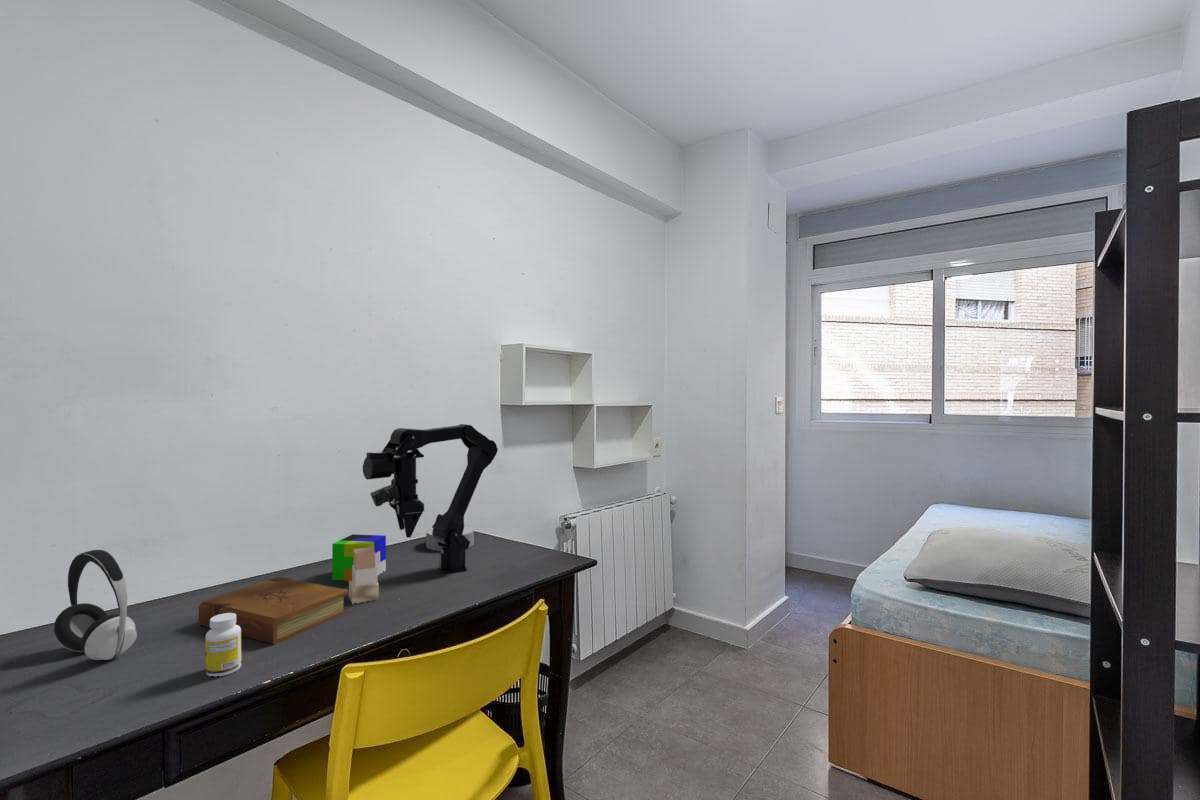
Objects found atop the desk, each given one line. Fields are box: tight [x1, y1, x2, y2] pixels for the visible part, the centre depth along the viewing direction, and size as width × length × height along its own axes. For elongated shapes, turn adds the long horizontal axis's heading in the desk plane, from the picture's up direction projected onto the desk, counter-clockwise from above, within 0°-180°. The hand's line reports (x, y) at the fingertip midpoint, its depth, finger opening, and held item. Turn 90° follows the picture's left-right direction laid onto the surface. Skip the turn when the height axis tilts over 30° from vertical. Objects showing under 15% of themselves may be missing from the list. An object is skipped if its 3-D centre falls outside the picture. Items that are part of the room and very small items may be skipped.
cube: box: [354, 547, 375, 570], centre depth 138 cm, size 4×4×4 cm
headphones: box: [53, 549, 138, 661], centre depth 107 cm, size 19×8×20 cm, turn 65°
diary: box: [198, 576, 349, 645], centre depth 125 cm, size 23×19×6 cm
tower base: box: [348, 581, 380, 605], centre depth 138 cm, size 6×6×4 cm
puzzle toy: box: [331, 533, 387, 582], centre depth 155 cm, size 10×10×10 cm
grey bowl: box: [425, 525, 475, 552], centre depth 186 cm, size 15×15×5 cm
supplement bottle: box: [204, 613, 243, 678], centre depth 102 cm, size 5×5×10 cm
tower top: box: [352, 564, 379, 587], centre depth 138 cm, size 5×5×4 cm
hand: (405, 533), depth 150 cm, fingers open, 9 cm apart
